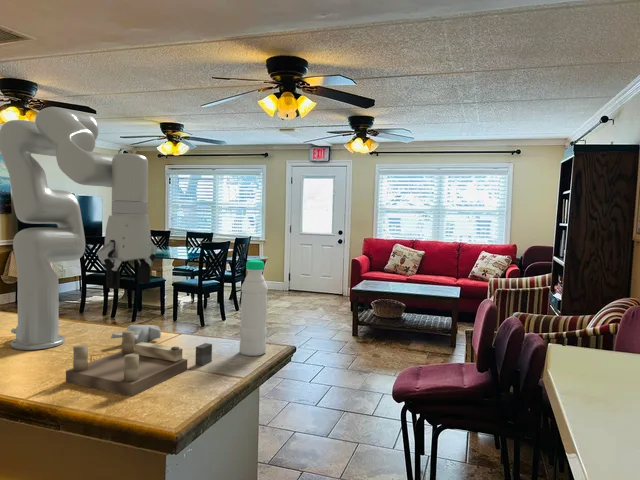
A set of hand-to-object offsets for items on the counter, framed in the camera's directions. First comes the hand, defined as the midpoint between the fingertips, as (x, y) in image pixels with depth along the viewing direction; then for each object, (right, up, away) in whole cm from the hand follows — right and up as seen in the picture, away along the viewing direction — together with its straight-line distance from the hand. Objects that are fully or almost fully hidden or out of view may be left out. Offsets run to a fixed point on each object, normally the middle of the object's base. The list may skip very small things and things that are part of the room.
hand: (129, 285), depth 107 cm
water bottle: (+25, -20, +20) cm, 38 cm away
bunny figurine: (-8, -19, +27) cm, 34 cm away
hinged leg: (+5, -17, +6) cm, 19 cm away
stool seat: (+2, -20, +3) cm, 21 cm away
